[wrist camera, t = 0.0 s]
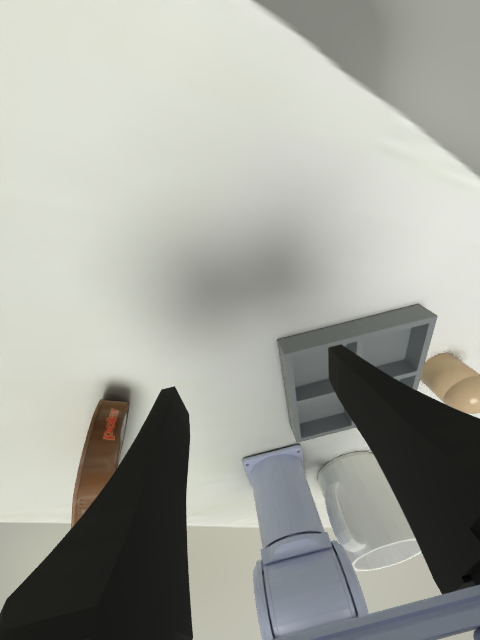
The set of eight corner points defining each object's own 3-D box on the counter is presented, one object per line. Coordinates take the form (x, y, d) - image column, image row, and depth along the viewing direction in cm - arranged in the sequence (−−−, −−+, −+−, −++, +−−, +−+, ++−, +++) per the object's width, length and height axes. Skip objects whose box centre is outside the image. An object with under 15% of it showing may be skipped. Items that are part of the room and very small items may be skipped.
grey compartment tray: (397, 398, 31) (410, 413, 29) (290, 426, 31) (296, 442, 29) (418, 303, 23) (437, 315, 22) (277, 339, 23) (284, 354, 22)
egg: (449, 376, 30) (498, 416, 25) (414, 385, 30) (456, 427, 25) (459, 348, 28) (515, 387, 23) (421, 358, 28) (469, 399, 23)
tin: (104, 379, 23) (62, 474, 16) (140, 384, 24) (115, 475, 17) (93, 469, 30) (61, 562, 23) (121, 470, 31) (98, 560, 24)
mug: (391, 457, 39) (446, 540, 30) (347, 489, 43) (385, 570, 34) (334, 441, 34) (380, 535, 26) (291, 479, 38) (318, 571, 29)
